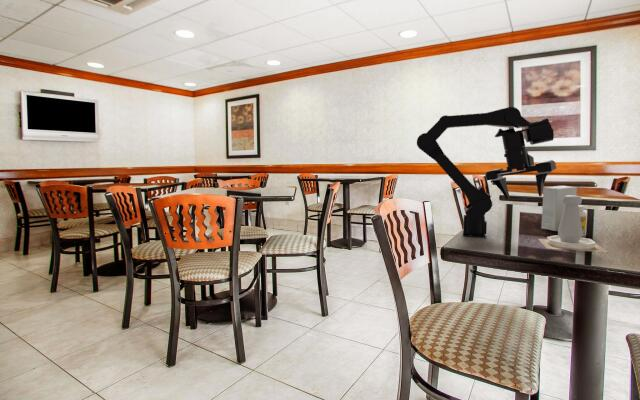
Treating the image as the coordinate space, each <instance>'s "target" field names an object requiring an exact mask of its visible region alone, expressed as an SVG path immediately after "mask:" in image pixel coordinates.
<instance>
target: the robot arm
mask: <svg viewBox="0 0 640 400" xmlns="http://www.w3.org/2000/svg"><path fill="white" fill-rule="evenodd" d="M549 119H550V118H543V119H541V120H538V121H534V122H529V121H528V120H527V119H526V118H525V117H523V116H522V115H521V110H519V109H518V108H517V107H514V106H507V107H505V108H499V109H496V110H493V111H488V112H482V113H469V114H456V115H442V116H440V118H439V120H438V121H437V122H436V123H434V124H433V126H432V127H431V128H430V129H429V130H428V131H426V132H423V133H422V134H420V135H419V136H418V137H417V140H416V146H417V147H418V149H419V150H421V151H422V152H423V153H425V154H426V155H427V156H429V157H430V158H431V159H433V160H434V161H435V162H436V163H437V164H438V166H440V168H441V169H442V170H443V171H444V173H446V174H447V175H448V176H449V178H450V179H451V180H452V182H453V183H455V184H456V186H457V187H458V188H459V189H460V190H461V191H462V192H463V194H464V195H465V198H467V200H468V202H469V203H468V204H467V205H466V206H465V207H464V208H463V209H464V212H465V214H464V215H463V223H462V224H463V226H462V227H463V229H462V236H463V237H476V238H477V237H478V238H485V237H486V235H487V230H488V228H487V223H488V222H487V220H486V217H485V215H486V213H488V212H490V210H491V209H492V207H493V201H492V199H491V197H492V195H490V194H489V193H487V192H486V190H485V189H484V188H483V186H482V185H479V186H478V187H477V186H475V185H474V184H473V183H472V182H471V181H470V180H469V179H468V178H467V177H466V176H465V175H464V173H462V172H461V170H460V169H459V168H458V167H457V166H456V165H455V164H454V163H453V161H452V160H451V159H450V158H449V157H448V156H447V154H445V152H444V151H443V149H442V148H441V146H440V144H439V143H438V141H437V140H438V139H439V137H441V135H443V134H444V133H445V132H446V130H447V129H450V128H463V127H467V128H468V127H477V126H478V127H480V126H489V127H490V126H491V127H499V128H498V129H497V132H496V134H495V135H494V137H495V138H499V137H501V139H502V144H503V149H504V154H503V156H504V158H505V161H506V165H507V167H506V168H505V169H504V168H495V169H491V170H487V171H486V172H485V174H484V176H485V181H490V183H493V184H495V186H496V187H497V188H498V189H499V190H500V192H501V193H502V195H503V196H504V197H505V199H506V200H507V201H509V200H510V193H509V190H508V186H507V177H506V176H513V175H517V174H524V173H525V174H527V173H532V172H536V173H537V174H535V179H536V180H535V181H536V189H537V193H538V196H539V197H543V190H544V187H545V183H546V178H547V177H548V175H550V174H551V173H553V172H552V171H554V170H556V169H557V163H556V161H554V160H553V159H550V160H544V161H539V162H537V163H535V159H534V157H533V156H532V155H530V154H529V151H528V150H527V147H526V144H525V142H526V143H529V144H530V145H532V146H533V145H538V144H542V143H547V142H551V141H554V138H555V135H554V128H552V125H551V123H550V121H549ZM511 127H513V128H511ZM502 128H507V129H504V130H503V129H502ZM508 128H509V129H508ZM515 128H516V129H519V130H515ZM521 128H524V129H521ZM520 129H521V130H520Z"/></svg>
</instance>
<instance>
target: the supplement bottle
mask: <svg viewBox="0 0 640 400" xmlns="http://www.w3.org/2000/svg"><path fill="white" fill-rule="evenodd" d="M578 207H579V213H580V219H581V225H582V231H583V236H582V237H584V236H586V224H587V214H586V212H584V210H585V206H584V205H581V204H579V205H578Z"/></svg>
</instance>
